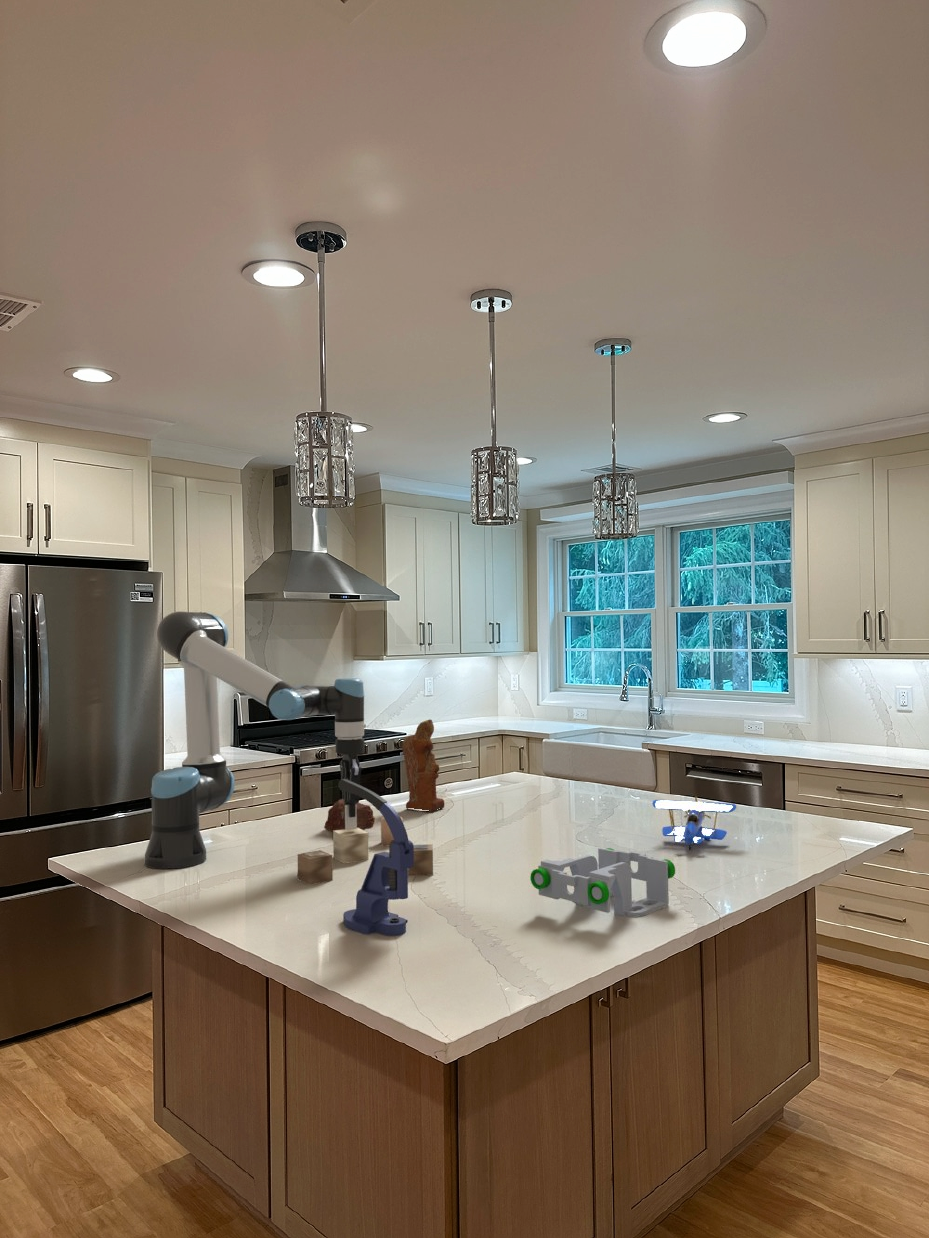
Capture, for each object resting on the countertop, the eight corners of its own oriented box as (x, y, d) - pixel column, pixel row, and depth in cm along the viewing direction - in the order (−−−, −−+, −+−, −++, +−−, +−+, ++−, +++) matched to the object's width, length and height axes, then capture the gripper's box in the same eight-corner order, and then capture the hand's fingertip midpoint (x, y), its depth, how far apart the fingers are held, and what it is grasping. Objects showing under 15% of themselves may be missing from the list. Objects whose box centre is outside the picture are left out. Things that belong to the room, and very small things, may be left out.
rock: (376, 835, 252) (377, 803, 252) (360, 838, 247) (361, 806, 247) (334, 826, 264) (334, 796, 264) (318, 829, 259) (318, 799, 259)
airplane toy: (724, 882, 223) (731, 837, 219) (638, 861, 230) (644, 817, 226) (731, 835, 246) (738, 793, 242) (653, 817, 253) (658, 777, 249)
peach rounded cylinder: (384, 846, 237) (384, 820, 237) (378, 842, 242) (378, 816, 242) (405, 844, 239) (405, 818, 239) (398, 839, 245) (398, 815, 245)
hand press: (423, 929, 167) (422, 784, 168) (391, 942, 161) (390, 791, 162) (357, 911, 180) (356, 776, 180) (324, 922, 173) (324, 781, 174)
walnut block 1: (309, 885, 200) (309, 858, 200) (297, 879, 205) (297, 853, 205) (332, 880, 204) (332, 854, 204) (320, 875, 208) (320, 849, 208)
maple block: (342, 863, 219) (342, 835, 219) (333, 857, 225) (333, 830, 225) (368, 860, 222) (368, 832, 223) (358, 854, 229) (358, 827, 229)
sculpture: (448, 808, 289) (447, 719, 290) (433, 813, 282) (432, 721, 283) (416, 805, 296) (415, 717, 297) (400, 809, 289) (400, 719, 290)
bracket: (530, 911, 178) (530, 863, 178) (603, 886, 196) (603, 842, 196) (604, 932, 165) (604, 880, 165) (675, 904, 182) (675, 856, 183)
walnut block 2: (408, 875, 207) (407, 849, 207) (408, 869, 213) (408, 844, 213) (433, 875, 207) (432, 849, 207) (432, 868, 213) (432, 843, 213)
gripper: (371, 739, 220) (372, 832, 219) (357, 734, 232) (358, 822, 231) (342, 741, 217) (343, 835, 217) (329, 736, 229) (330, 825, 229)
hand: (351, 828), depth 224 cm, fingers closed
